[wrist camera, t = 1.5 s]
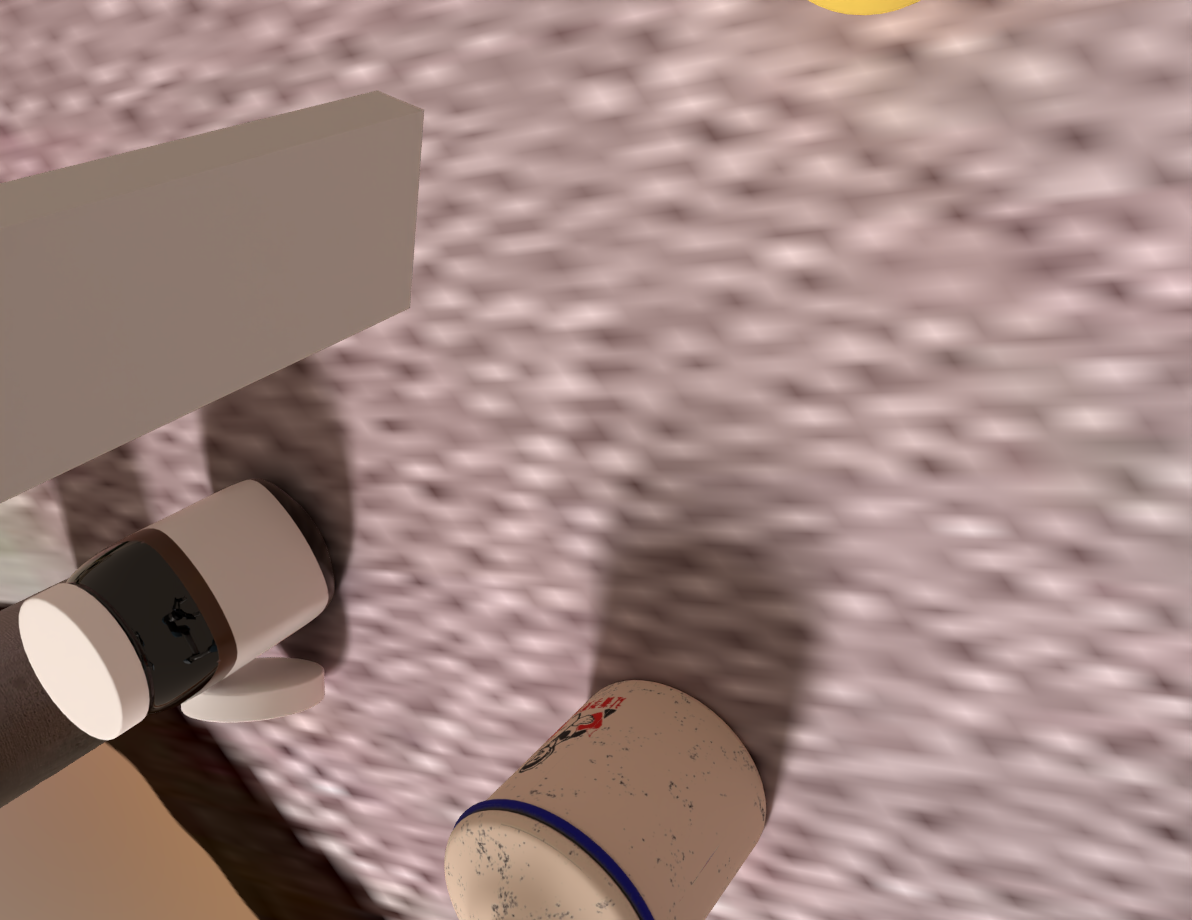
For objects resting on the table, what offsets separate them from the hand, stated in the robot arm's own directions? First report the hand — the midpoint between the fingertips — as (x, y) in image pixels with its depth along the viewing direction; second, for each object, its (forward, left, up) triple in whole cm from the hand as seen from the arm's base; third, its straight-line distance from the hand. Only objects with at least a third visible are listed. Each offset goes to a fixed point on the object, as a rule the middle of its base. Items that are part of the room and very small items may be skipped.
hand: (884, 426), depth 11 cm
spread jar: (+24, +35, -19) cm, 47 cm away
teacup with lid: (+3, +30, -19) cm, 36 cm away
